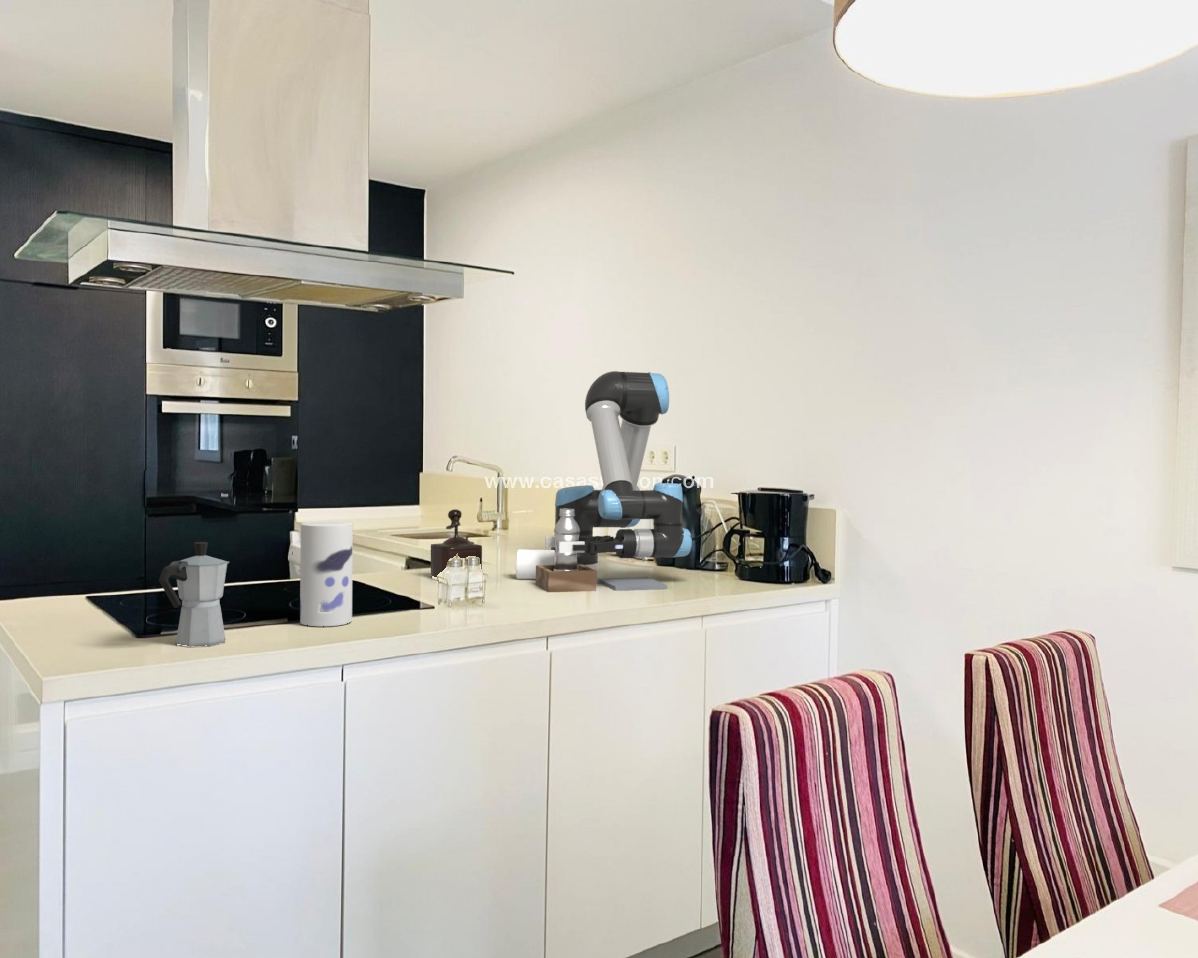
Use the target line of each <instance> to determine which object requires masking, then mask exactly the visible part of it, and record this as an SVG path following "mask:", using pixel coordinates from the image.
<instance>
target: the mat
mask: <svg viewBox="0 0 1198 958" xmlns="http://www.w3.org/2000/svg"><path fill="white" fill-rule="evenodd" d="M597 583H598V584H601V585H603V586H605V587H606V588H609V589H611V590H613V591H639V590H642V591H643V590H645V591H648V590H667V589H668V584H666V583H663V582H661V581H658V580H656V579H653V578H651V577H648V576H647V577H646V576H645V577H644V576H643V577H617V578H616V577H615V578H613V577H611V578H609V577H607V578H598V582H597Z"/></svg>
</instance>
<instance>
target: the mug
mask: <svg viewBox="0 0 1198 958" xmlns="http://www.w3.org/2000/svg"><path fill="white" fill-rule="evenodd" d="M536 565H555V550H551V549H525V548H524V549H523V548H522V549H520V548H519V549H517V551H516V558H515V577H516V580H531V581H532V580H535V581H536Z"/></svg>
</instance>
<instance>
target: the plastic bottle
mask: <svg viewBox="0 0 1198 958" xmlns="http://www.w3.org/2000/svg"><path fill="white" fill-rule="evenodd" d="M559 516H561V517H560V520H559V521H558V522H557V524H556V525H555V524H554V528H553V533H554V536H553V537H555V548H556V557H555V566H554V571H576V570H578V569H577V553H558V551H559V542H578V539H579V533H580V529H579V526H578V524H577V523H576V521H575V520H574V516H575V514H574V509H560V514H559Z"/></svg>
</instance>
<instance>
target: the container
mask: <svg viewBox="0 0 1198 958" xmlns="http://www.w3.org/2000/svg"><path fill="white" fill-rule="evenodd" d="M353 525H354V524H353V523H352V522H348V521H332V520H331V521H329V520H328V521H327V520H326V521H322V520H321V521H308V522H302V523H300V573H299V574H300V575H299V576H300V578H299V579H300V582H299V583H300V584H299V586H300V588H299V590H300V591H299V592H300V593H299V597H300V598H299V599H300V600H299V601H300V602H299V618H300V619H299V624H301V625H304V626H307V625H308V626H309V627H323V626H324V627H337V626H344V625H347V623H348V624H350V623H352V622H351V621H353V553H354V552H353V550H354V549H353V546H354V545H353V544H354V543H353V542H354V540H353V536H354V534H353V530H354V526H353ZM349 622H350V623H349Z"/></svg>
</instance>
